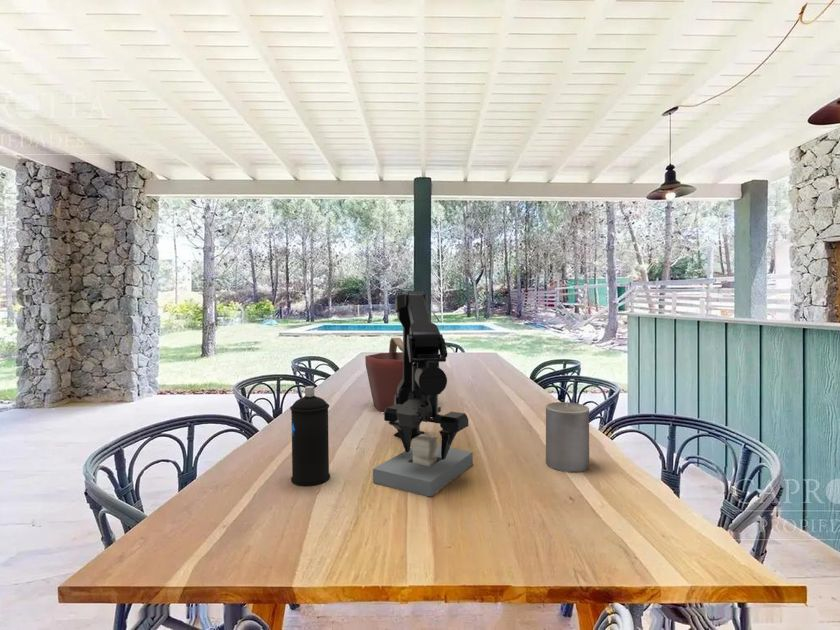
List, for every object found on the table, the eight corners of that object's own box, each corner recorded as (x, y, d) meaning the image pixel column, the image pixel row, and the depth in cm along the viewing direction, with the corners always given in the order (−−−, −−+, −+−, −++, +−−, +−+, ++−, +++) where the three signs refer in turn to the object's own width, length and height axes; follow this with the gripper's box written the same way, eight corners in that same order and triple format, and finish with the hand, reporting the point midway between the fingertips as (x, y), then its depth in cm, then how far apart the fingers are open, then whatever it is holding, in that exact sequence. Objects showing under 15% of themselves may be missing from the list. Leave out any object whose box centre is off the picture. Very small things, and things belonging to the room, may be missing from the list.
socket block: (421, 454, 113) (421, 442, 113) (472, 464, 106) (472, 452, 106) (373, 482, 96) (372, 468, 96) (430, 497, 88) (430, 482, 88)
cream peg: (421, 468, 103) (421, 434, 103) (437, 472, 101) (437, 436, 101) (412, 474, 100) (412, 438, 100) (428, 478, 98) (428, 441, 98)
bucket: (427, 416, 149) (427, 341, 148) (360, 416, 149) (360, 341, 148) (427, 400, 173) (427, 335, 172) (370, 400, 173) (369, 335, 172)
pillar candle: (558, 454, 112) (558, 394, 112) (596, 464, 105) (596, 400, 105) (537, 465, 106) (537, 401, 105) (577, 476, 99) (577, 408, 98)
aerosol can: (337, 473, 101) (336, 384, 100) (317, 488, 93) (315, 391, 92) (305, 469, 103) (304, 382, 102) (283, 483, 95) (281, 389, 95)
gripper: (369, 387, 98) (369, 459, 98) (445, 397, 88) (445, 476, 89) (397, 379, 107) (397, 444, 108) (469, 387, 98) (469, 458, 98)
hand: (425, 455), depth 101 cm, fingers open, 9 cm apart
